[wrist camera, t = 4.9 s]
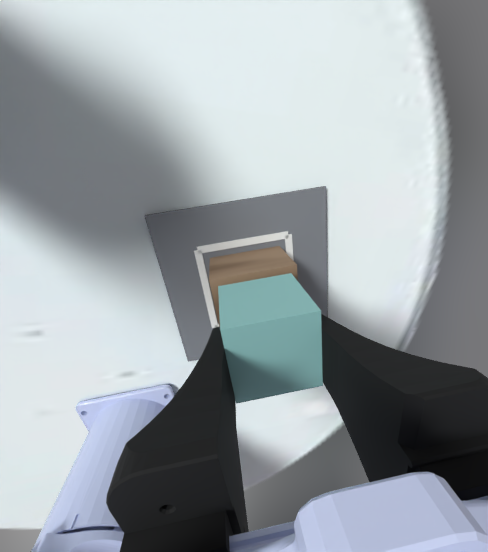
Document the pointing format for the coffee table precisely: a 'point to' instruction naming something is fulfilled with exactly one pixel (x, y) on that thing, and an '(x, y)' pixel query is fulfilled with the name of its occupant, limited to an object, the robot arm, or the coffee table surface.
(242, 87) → the coffee table surface
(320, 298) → the mat
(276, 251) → the walnut block
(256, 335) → the teal cube
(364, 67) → the coffee table surface
